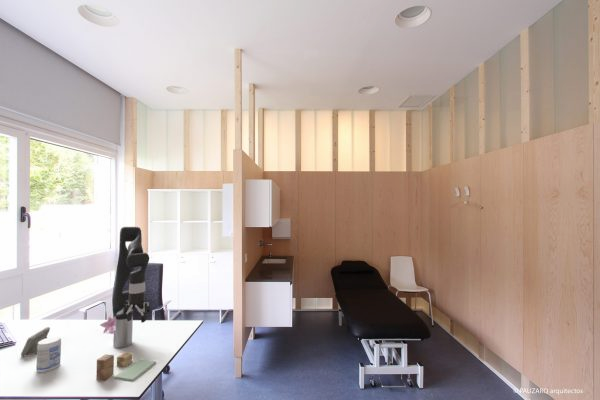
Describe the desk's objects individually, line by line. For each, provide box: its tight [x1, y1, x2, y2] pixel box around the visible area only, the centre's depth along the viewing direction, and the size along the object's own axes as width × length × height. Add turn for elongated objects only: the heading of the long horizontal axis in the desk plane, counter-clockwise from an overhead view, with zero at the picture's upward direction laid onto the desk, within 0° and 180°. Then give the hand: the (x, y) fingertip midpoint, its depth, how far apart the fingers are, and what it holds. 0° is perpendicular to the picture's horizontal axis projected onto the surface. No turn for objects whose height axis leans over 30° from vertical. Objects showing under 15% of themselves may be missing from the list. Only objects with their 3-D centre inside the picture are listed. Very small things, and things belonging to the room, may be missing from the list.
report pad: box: [113, 358, 157, 382], centre depth 143 cm, size 11×16×1 cm
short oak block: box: [116, 351, 133, 368], centre depth 149 cm, size 5×5×5 cm
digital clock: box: [20, 326, 51, 357], centre depth 163 cm, size 16×9×11 cm, turn 0°
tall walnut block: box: [95, 354, 115, 382], centre depth 137 cm, size 5×5×10 cm
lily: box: [99, 316, 115, 335], centre depth 189 cm, size 12×12×10 cm
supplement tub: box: [35, 335, 62, 373], centre depth 145 cm, size 10×10×15 cm
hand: (136, 321), depth 143 cm, fingers open, 8 cm apart
